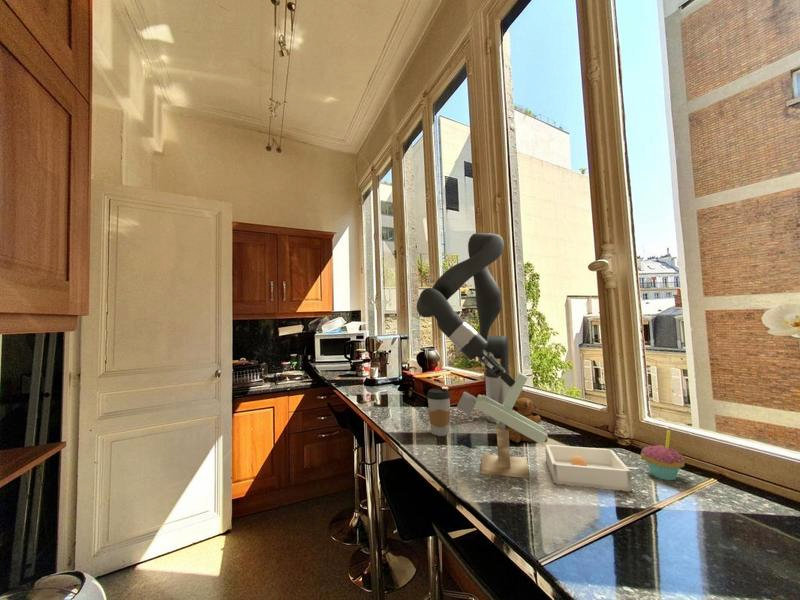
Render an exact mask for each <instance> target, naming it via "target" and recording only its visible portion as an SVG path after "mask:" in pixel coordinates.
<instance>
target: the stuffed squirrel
mask: <svg viewBox="0 0 800 600" xmlns="http://www.w3.org/2000/svg"><path fill="white" fill-rule="evenodd" d="M514 405H516V407H517V410H515V409H514V408H512V410H513V411H514V412H516V413H518V414H520V415H522V416H524V417H526V418H528V419H529V420H531V421H533V422H535V423H537V424H539V423H541V421H542V418H541V416H540V415H538V414H537V415H533V414H532V412H533V411H538V410H539V408H538V407H537V405H535V404H534V402H533V401H532V400H531V399H529V398H527V397H520V398H517V400H516V402H515V404H514ZM508 429H509V441H510V440H511V441H512V442H515V443H517V444H518V443H520V442H522V441H523V442H528V443H537V442H536V441H534V440H532V439H531V438H529V437H527V436H525V435H523V434H522V433H520V432H518V431H516V430H514V429H513V428H511V427H509V426H508ZM547 441H548V437H547V438H546V440H545V442H547Z"/></svg>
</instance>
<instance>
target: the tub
mask: <svg viewBox="0 0 800 600" xmlns="http://www.w3.org/2000/svg"><path fill="white" fill-rule="evenodd" d="M544 450H545V461H546V464H547V468H548V471H549V473H550V476H551V479H552V483H553V484H554V483H556V484H555V485H562V484H567V485H566V486H572V485H573V486H574V487H582V486H584V487H583V488H591V487H594V488H593V489H602V490H611V489H614V490H613V491H620V490H622V492H630V491H632V492H633V483H632V471H631V470H630V469H629V468H628V466H627V465H626V464H625V463H624V462H623V461H622V459H621V458H620V457H619V455H617V454H616V452H615V451H614V450H613V449H611V448H610V449H609V448H600V447H599V448H598V447H597V448H596V447H585V446H584V447H583V446H569V445H557V444H545V448H544ZM575 456H580V457H582V458H583V459H584V460H585V461H586V463H587V466H579V465H571V459H572V458H573V457H575Z"/></svg>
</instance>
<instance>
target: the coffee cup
mask: <svg viewBox="0 0 800 600" xmlns="http://www.w3.org/2000/svg"><path fill="white" fill-rule="evenodd" d="M426 398H427V403H428V416H429V417H428V418H429V425H430V432H431V434H432V435H433V434H434V435H433V436H436V435H437V436H436V437H445V436H447V435H449V433H450V418H451V417H450V413H451V409H450V408H451V407H450V405H451V403H450V400H451V393H450V391H449V389H447V388H438V387H437V388H431V389H429V390H428V392H427V395H426Z"/></svg>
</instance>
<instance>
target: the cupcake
mask: <svg viewBox="0 0 800 600" xmlns="http://www.w3.org/2000/svg"><path fill="white" fill-rule="evenodd" d="M665 438H666V439H665V444H664V445H663V444H658V445H655V444H654V445H653V444H652V445H648V446H645V447H643V448H642V449H641V451H640V458H641V459H642V460H644V461H645V462H646V463H647V466H648V468H649V470H650V473H651V474H652V476H654V477H655V478H658V479H661V480H665V481H674V480H677V476H678V473H679V472H680V469H681V468H684V467H685V460H684V459H685V458H684V456H682V453H679V452H678V451H677V450H675V449H673V448H670V439H671V427H669V428H668V430H666V437H665Z"/></svg>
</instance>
